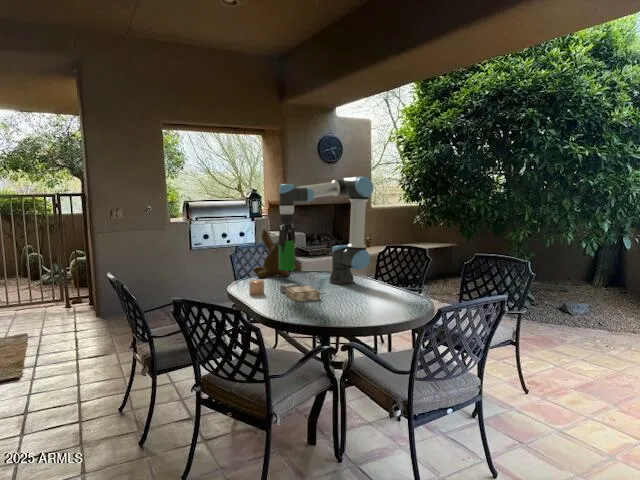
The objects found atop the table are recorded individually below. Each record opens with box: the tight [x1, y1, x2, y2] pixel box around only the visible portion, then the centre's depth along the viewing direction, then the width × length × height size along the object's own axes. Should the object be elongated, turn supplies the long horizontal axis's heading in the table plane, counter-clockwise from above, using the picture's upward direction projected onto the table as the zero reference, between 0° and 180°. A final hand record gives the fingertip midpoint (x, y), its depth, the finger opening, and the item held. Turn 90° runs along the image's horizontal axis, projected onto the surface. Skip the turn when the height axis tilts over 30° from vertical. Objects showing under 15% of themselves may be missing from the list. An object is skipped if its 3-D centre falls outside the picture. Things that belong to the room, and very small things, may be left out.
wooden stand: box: [253, 223, 291, 279], centre depth 293 cm, size 29×29×35 cm
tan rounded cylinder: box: [248, 279, 265, 297], centre depth 239 cm, size 8×8×7 cm
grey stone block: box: [279, 282, 298, 294], centre depth 245 cm, size 8×5×4 cm, turn 135°
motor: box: [277, 237, 297, 272], centre depth 229 cm, size 10×9×20 cm
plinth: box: [285, 285, 321, 302], centre depth 231 cm, size 14×14×5 cm
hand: (287, 256), depth 230 cm, fingers closed on motor, 7 cm apart
